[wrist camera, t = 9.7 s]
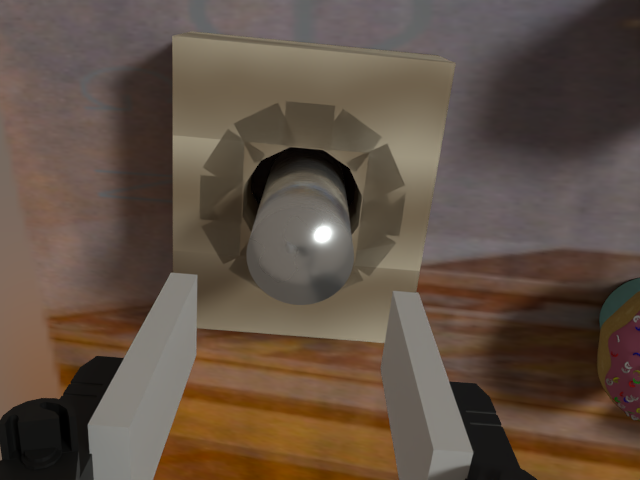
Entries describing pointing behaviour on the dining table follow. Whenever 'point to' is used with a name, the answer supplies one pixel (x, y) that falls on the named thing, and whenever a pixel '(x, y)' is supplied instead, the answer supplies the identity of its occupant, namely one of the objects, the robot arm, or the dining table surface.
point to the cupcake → (621, 348)
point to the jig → (312, 133)
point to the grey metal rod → (302, 229)
